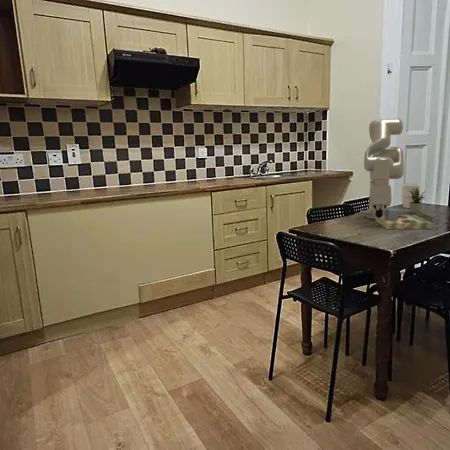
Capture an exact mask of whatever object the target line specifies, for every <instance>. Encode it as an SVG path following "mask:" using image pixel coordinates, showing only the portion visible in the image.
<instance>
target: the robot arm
mask: <svg viewBox="0 0 450 450" xmlns="http://www.w3.org/2000/svg"><path fill="white" fill-rule="evenodd" d="M403 129H404V123H403V120H402V119H401V118H384V119H383V118H382V119H381V118H380V119H379V118H378V119H375V120H374V119H373V120H372V121H371V122H370V123H369V125H368V133H369V138H370V140H371V143H370V145H369V146H368V147H367V148H366V150H365V152H364V156H363V157H364V160H363V168H364V169H365V171H366V172H369V185H370V187H369V195H368V197H369V198H368V202H369V203H368V208H367V209H366V210H360V211H359V213H360V215H365V218H367V219H372V220H376V217H377V218H381V216H385V209H388V208H389V207H391V204H392V187H391V184H389V183H390V180H399V179H401V178H402V177H403V175H404V173H405V172H404V171H405V168H404V167H405V166H404V165H405V164H404V151H403V148H401V147H399V146H390V145H391V141H392V140H391V136H397V135H398V136H400V135H401V134H402V133H403Z"/></svg>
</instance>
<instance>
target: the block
mask: <svg viewBox="0 0 450 450" xmlns="http://www.w3.org/2000/svg"><path fill="white" fill-rule="evenodd" d="M399 213H400V210H398V209H396V208H387V209H385V219H387V220H398V215H400V214H399Z"/></svg>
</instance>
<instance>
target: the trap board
mask: <svg viewBox="0 0 450 450" xmlns="http://www.w3.org/2000/svg"><path fill="white" fill-rule="evenodd" d="M435 219H436V217H435V216H433V215H431V214H429V213H428V212H427V213H426V212H424V211H422V210H421V211H420V210H416V214H413V215H412V214H409V215H408V214H407V215H406V214H405V215H402V214H401V215H400V214H398V220H387V219H385V216H381V218H377V217H376V219H374V221H375V223H377V224H379V225H380V226H382V227H383V228H385V229H386V230H433V229H435Z"/></svg>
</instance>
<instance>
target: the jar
mask: <svg viewBox="0 0 450 450" xmlns="http://www.w3.org/2000/svg"><path fill="white" fill-rule="evenodd" d="M401 187H402V189H401V202H402V208H405V209H410V202H414V201H413V199H412V200H411V198H412V194H411V192H410V191H412V192H413V189H414V192H415V188H416V187H417V189H418V188H419V189H418V190H419V197H420V196H421V194H420V193H421V190H420V187H421V184H419V183H403V184H402V186H401ZM411 187H412V188H413V189H412V188H411ZM404 188H405V189H404ZM409 190H410V191H409ZM404 195H405V196H404ZM407 196H408V197H407ZM406 197H407V198H406ZM410 197H411V198H410Z"/></svg>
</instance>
